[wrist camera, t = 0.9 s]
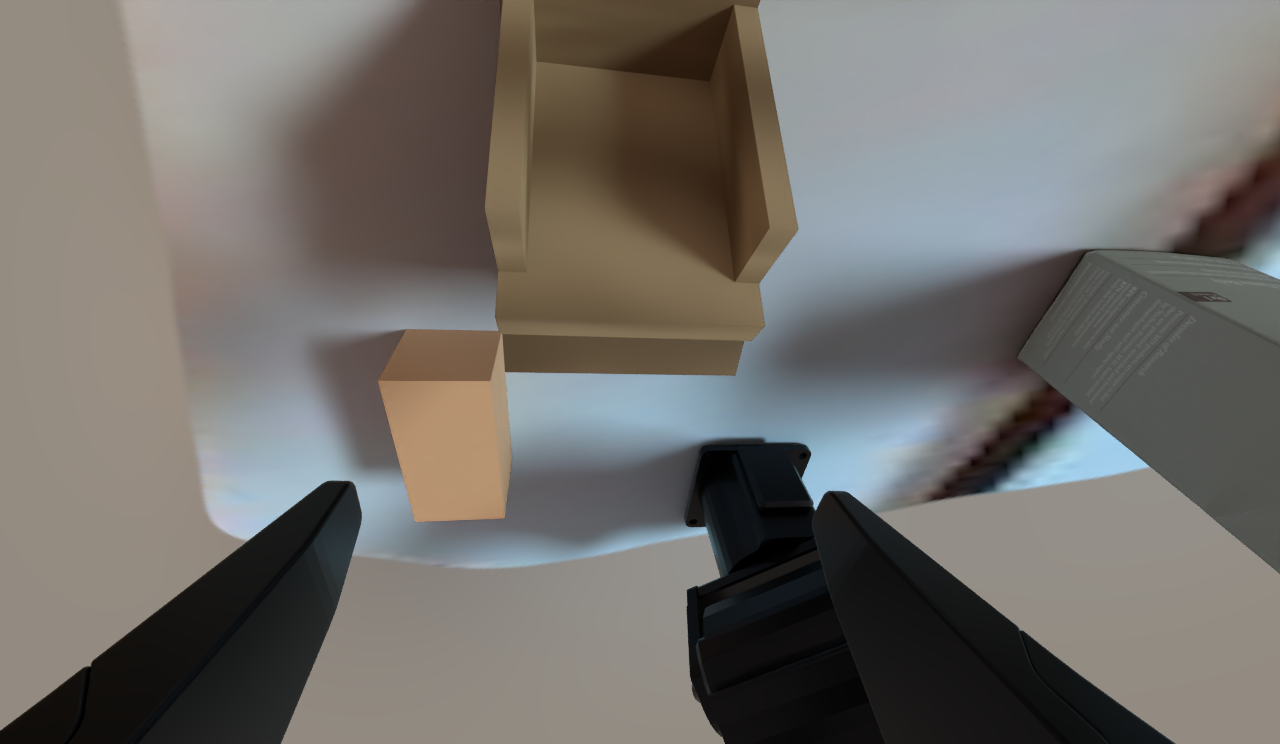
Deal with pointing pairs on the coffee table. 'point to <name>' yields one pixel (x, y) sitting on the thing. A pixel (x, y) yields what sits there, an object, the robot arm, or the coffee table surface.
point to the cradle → (633, 185)
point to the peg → (450, 422)
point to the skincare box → (1178, 375)
